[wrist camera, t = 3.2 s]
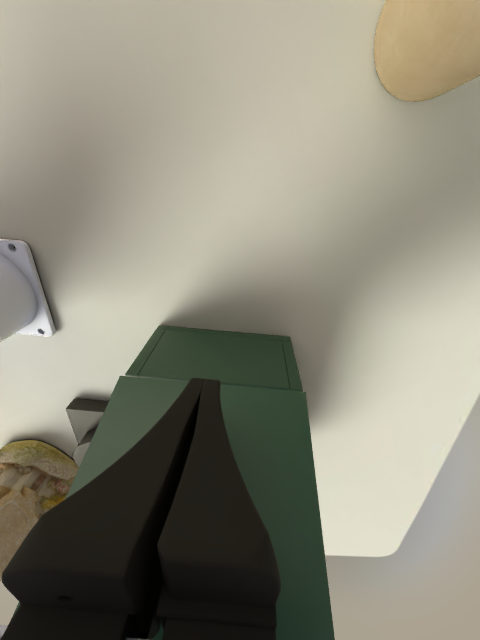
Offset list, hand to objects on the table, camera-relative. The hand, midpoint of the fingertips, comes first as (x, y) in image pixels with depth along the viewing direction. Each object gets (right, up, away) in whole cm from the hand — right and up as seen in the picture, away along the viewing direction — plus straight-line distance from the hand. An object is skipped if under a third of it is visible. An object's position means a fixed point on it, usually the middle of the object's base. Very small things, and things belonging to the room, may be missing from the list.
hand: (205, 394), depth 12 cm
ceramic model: (-23, -16, +21) cm, 35 cm away
